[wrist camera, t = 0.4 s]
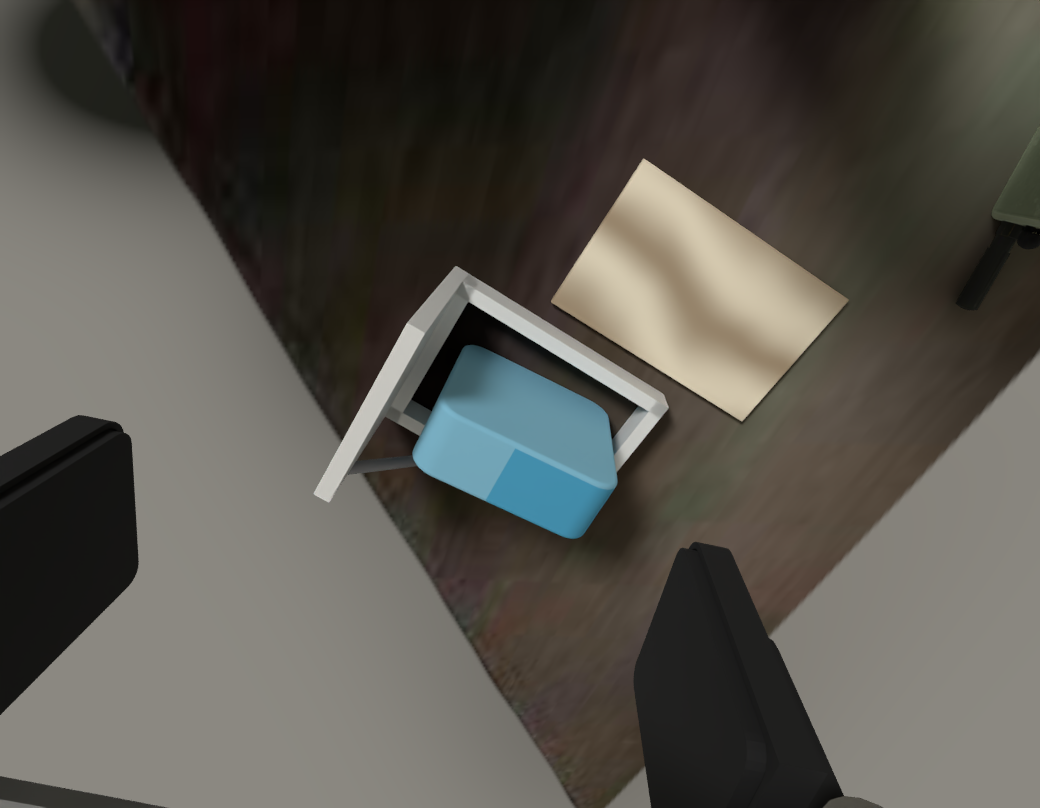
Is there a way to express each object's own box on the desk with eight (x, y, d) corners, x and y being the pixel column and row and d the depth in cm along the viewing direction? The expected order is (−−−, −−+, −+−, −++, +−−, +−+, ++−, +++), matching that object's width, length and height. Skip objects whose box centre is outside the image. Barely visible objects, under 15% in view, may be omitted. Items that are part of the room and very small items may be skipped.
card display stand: (455, 265, 42) (407, 322, 30) (663, 394, 45) (701, 496, 32) (377, 405, 47) (307, 505, 34) (569, 512, 50) (569, 642, 37)
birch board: (643, 158, 38) (644, 158, 38) (846, 298, 41) (849, 300, 41) (551, 300, 43) (550, 302, 42) (740, 418, 45) (741, 421, 45)
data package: (443, 387, 46) (405, 466, 35) (467, 338, 44) (434, 405, 34) (580, 453, 48) (583, 548, 37) (608, 408, 46) (621, 494, 35)
